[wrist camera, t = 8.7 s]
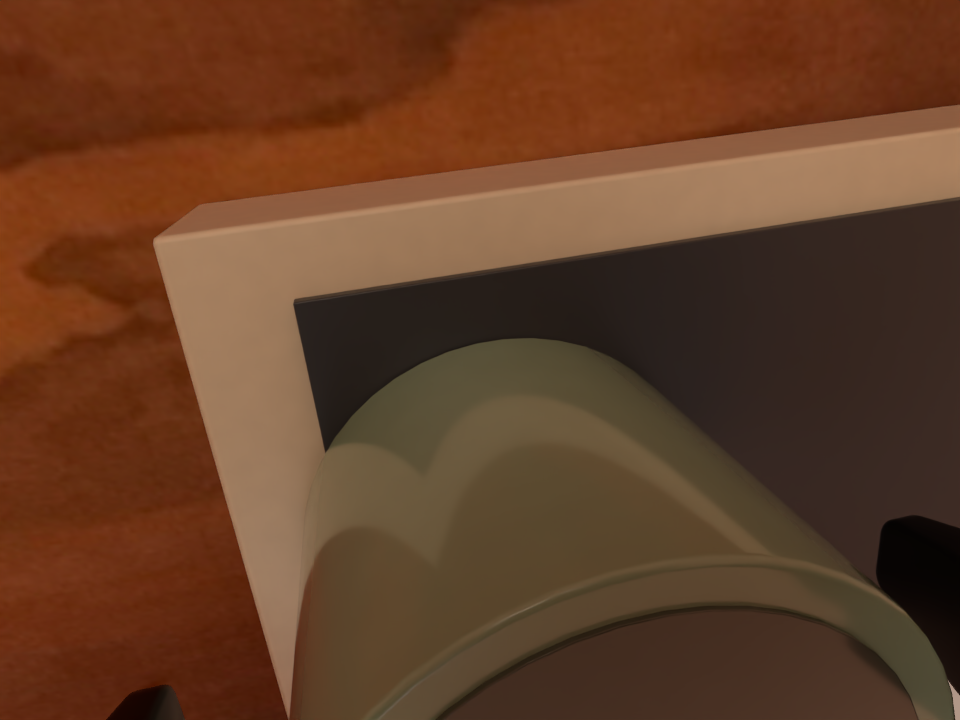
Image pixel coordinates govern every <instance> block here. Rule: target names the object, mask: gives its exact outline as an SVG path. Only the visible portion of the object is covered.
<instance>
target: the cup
mask: <svg viewBox="0 0 960 720" xmlns="http://www.w3.org/2000/svg"><path fill="white" fill-rule="evenodd" d="M289 720H955V715H954V706H953V697H952V692H951V689H950V686H949V683H948V679H947V676H946V673H945V670H944V667H943V664H942V662H941V660H940V658H939V656H938V655H937V653H936V651H935V649H934V648H933V646H932V644H931V642H930V641H929V639H928V637H927V635H926V634H925V632H924V631H923V630H922V629H921V628H920V627H919V625H918V624H917V623H916V622H915V621H914V620H913V619H912V618H911V616H910V615H909V614H908V613H907V612H906V611H905V610H904V609H903V608H902V607H901V606H900V605H899V604H898V603H897V602H895V601H894V600H893V599H892V598H891V597H890V596H889V595H888V594H886V593H885V592H884V591H883V590H882V589H881V588H880V587H879V586H877V585H876V584H875V583H874V582H873V581H872V580H871V579H870V578H868V577H867V576H866V575H865V574H864V573H863V572H862V571H861V570H859V569H858V568H857V567H856V566H855V565H854V564H853V563H852V562H850V561H849V560H848V559H847V558H846V557H845V556H844V555H843V554H841V553H840V552H839V551H838V550H837V549H836V548H835V547H834V546H832V545H831V544H830V543H829V542H828V541H827V540H826V539H824V538H823V537H822V536H821V535H820V534H819V533H818V532H817V531H815V530H814V529H813V528H812V527H811V526H810V525H809V524H808V523H806V522H805V521H804V520H803V519H802V518H801V517H800V516H799V515H797V514H796V513H795V512H794V511H793V510H792V509H791V508H790V507H788V506H787V505H786V504H785V503H784V502H783V501H782V500H781V499H779V498H778V497H777V496H776V495H775V494H774V493H773V492H772V491H770V490H769V489H768V488H767V487H766V486H765V485H764V484H763V483H761V482H760V481H759V480H758V479H757V478H756V477H755V476H753V475H752V474H751V473H750V472H749V471H748V470H747V469H746V468H744V467H743V466H742V465H741V464H740V463H739V462H738V461H737V460H735V459H734V458H733V457H732V456H731V455H730V454H729V453H728V452H726V451H725V450H724V449H723V448H722V447H721V446H720V445H719V444H717V443H716V442H715V441H714V440H713V439H712V438H711V437H710V436H708V435H707V434H706V433H705V432H704V431H703V430H702V429H701V428H699V427H698V426H697V425H696V424H695V423H694V422H693V421H692V420H690V419H689V418H688V417H687V416H686V415H685V414H684V413H682V412H681V411H680V410H679V409H678V408H677V407H676V406H675V405H673V404H672V403H671V402H670V401H669V400H668V399H667V398H666V397H664V396H663V395H662V394H661V393H660V392H659V391H658V390H657V389H655V388H654V387H653V386H652V385H651V384H650V383H649V382H647V381H646V380H645V379H644V378H642V377H641V376H640V375H639V374H637V373H636V372H635V371H633V370H632V369H631V368H629V367H628V366H626V365H624V364H622V363H621V362H619V361H617V360H615V359H614V358H612V357H610V356H608V355H605V354H603V353H600V352H598V351H595V350H593V349H590V348H587V347H585V346H580V345H576V344H572V343H567V342H563V341H558V340H547V339H537V338H520V339H501V340H495V341H489V342H483V343H477V344H473V345H470V346H466V347H463V348H459V349H456V350H453V351H449V352H446V353H444V354H442V355H439V356H437V357H435V358H432V359H430V360H428V361H425V362H423V363H421V364H419V365H417V366H416V367H414V368H412V369H410V370H409V371H407V372H405V373H404V374H402V375H400V376H399V377H397V378H395V379H394V380H392V381H391V382H390V383H389V384H387V385H386V386H385V387H383V388H382V389H381V390H379V391H378V392H377V393H375V394H374V395H373V396H372V397H371V398H370V399H369V400H368V401H367V402H366V403H365V404H364V405H363V406H361V407H360V408H359V409H358V410H357V411H356V412H355V413H354V414H353V415H352V416H351V418H350V419H349V420H348V422H347V423H346V424H345V425H344V427H343V428H342V429H341V430H340V432H339V433H338V434H337V436H336V437H335V438H334V440H333V442H332V443H331V445H330V447H329V448H328V450H327V452H326V454H325V455H324V457H323V459H322V460H321V462H320V465H319V467H318V470H317V472H316V475H315V477H314V480H313V482H312V485H311V488H310V492H309V496H308V500H307V504H306V508H305V517H304V528H303V541H302V554H301V568H300V581H299V595H298V608H297V622H296V635H295V649H294V662H293V676H292V689H291V702H290V716H289Z"/></svg>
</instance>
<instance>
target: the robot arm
mask: <svg viewBox="0 0 960 720" xmlns="http://www.w3.org/2000/svg"><path fill="white" fill-rule="evenodd" d="M876 577H877V581H878V584H879V586H880V588H881V589H882V590H883V591H884V592H885V593H886V594H888V595H889V596H890V597H891V598H892V599H893V600H894V601H895V602H897V603H898V604H899V605H900V606H901V607H902V608H903V609H904V610H905V611H906V612H907V613H908V614H909V615H910V616H911V618H912V619H913V620H914V621H915V622H916V623H917V624H918V625H919V627H920V628H921V629H922V630H923V631H924V632H925V634H926V635H927V637H928V639H929V641H930V642H931V644H932V646H933V648H934V649H935V651H936V653H937V655H938V656H939V658H940V660H941V662H942V664H943V667H944V670H945V673H946V676H947V679H948V681H949V682H950V684H951V685H952V686H953V687H954V689H955V690H956V691H957V693H959V695H960V528H958V527H955V526H951V525H948V524H945V523H942V522H939V521H935V520H932V519H929V518H926V517H923V516H919V515H909V516H905V517H900V518H896V519H892V520H889V521H887V522H885V524H884V525H883V527H882V529H881V533H880V541H879V548H878V556H877V564H876ZM106 720H185V718H184V715H183V713H182V710H181V707H180V704H179V701H178V699H177V696H176V693H175V691H174V690H173V688H172V687H171V686H169V685H159V686H155V687H151V688H146V689H142V690H137V691H135V692H132V693H131V694H129V695H128V696H127V697H126V698H125V699H124V700H123V701H122V703H121V704H120V705H119V706H118V707H117V708H116V709H115V710H114V712H113V713H112V714H111V715H110V716H109V717H108V718H107V719H106Z"/></svg>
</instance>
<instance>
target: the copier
mask: <svg viewBox="0 0 960 720" xmlns="http://www.w3.org/2000/svg"><path fill="white" fill-rule="evenodd" d="M153 246H154V249H155V253H156V256H157V260H158V263H159V267H160V270H161V274H162V277H163V281H164V285H165V288H166V292H167V295H168V299H169V302H170V306H171V309H172V313H173V316H174V320H175V323H176V327H177V330H178V334H179V337H180V341H181V344H182V348H183V351H184V355H185V358H186V362H187V365H188V369H189V372H190V376H191V379H192V383H193V386H194V390H195V393H196V397H197V400H198V404H199V408H200V411H201V415H202V418H203V422H204V425H205V429H206V432H207V436H208V439H209V443H210V446H211V450H212V453H213V457H214V460H215V464H216V467H217V471H218V474H219V478H220V481H221V485H222V488H223V492H224V495H225V499H226V502H227V506H228V509H229V513H230V516H231V520H232V523H233V527H234V530H235V534H236V538H237V541H238V545H239V548H240V552H241V555H242V559H243V562H244V566H245V569H246V573H247V576H248V580H249V583H250V587H251V590H252V594H253V597H254V601H255V604H256V608H257V611H258V615H259V618H260V622H261V625H262V629H263V632H264V636H265V639H266V643H267V646H268V650H269V653H270V657H271V661H272V664H273V668H274V671H275V675H276V678H277V682H278V685H279V689H280V692H281V696H282V699H283V703H284V706H285V710H286V713H287V717H288V720H289V716H290V702H291V689H292V676H293V662H294V649H295V635H296V622H297V608H298V595H299V581H300V568H301V554H302V541H303V528H304V517H305V508H306V504H307V500H308V496H309V492H310V488H311V485H312V482H313V480H314V477H315V475H316V472H317V470H318V467H319V465H320V462H321V460H322V459H323V457H324V455H325V454H326V452H327V450H328V448H329V447H330V445H331V443H332V442H333V440H334V438H335V437H336V436H337V434H338V433H339V432H340V430H341V429H342V428H343V427H344V425H345V424H346V423H347V422H348V420H349V419H350V418H351V416H352V415H353V414H354V413H355V412H356V411H357V410H358V409H359V408H360V407H361V406H363V405H364V404H365V403H366V402H367V401H368V400H369V399H370V398H371V397H372V396H373V395H374V394H375V393H377V392H378V391H379V390H381V389H382V388H383V387H385V386H386V385H387V384H389V383H390V382H391V381H392V380H394V379H395V378H397V377H399V376H400V375H402V374H404V373H405V372H407V371H409V370H410V369H412V368H414V367H416V366H417V365H419V364H421V363H423V362H425V361H428V360H430V359H432V358H435V357H437V356H439V355H442V354H444V353H446V352H449V351H453V350H456V349H459V348H463V347H466V346H470V345H473V344H477V343H483V342H489V341H495V340H501V339H520V338H537V339H547V340H558V341H563V342H567V343H572V344H576V345H580V346H585V347H587V348H590V349H593V350H595V351H598V352H600V353H603V354H605V355H608V356H610V357H612V358H614V359H615V360H617V361H619V362H621V363H622V364H624V365H626V366H628V367H629V368H631V369H632V370H633V371H635V372H636V373H637V374H639V375H640V376H641V377H642V378H644V379H645V380H646V381H647V382H649V383H650V384H651V385H652V386H653V387H654V388H655V389H657V390H658V391H659V392H660V393H661V394H662V395H663V396H664V397H666V398H667V399H668V400H669V401H670V402H671V403H672V404H673V405H675V406H676V407H677V408H678V409H679V410H680V411H681V412H682V413H684V414H685V415H686V416H687V417H688V418H689V419H690V420H692V421H693V422H694V423H695V424H696V425H697V426H698V427H699V428H701V429H702V430H703V431H704V432H705V433H706V434H707V435H708V436H710V437H711V438H712V439H713V440H714V441H715V442H716V443H717V444H719V445H720V446H721V447H722V448H723V449H724V450H725V451H726V452H728V453H729V454H730V455H731V456H732V457H733V458H734V459H735V460H737V461H738V462H739V463H740V464H741V465H742V466H743V467H744V468H746V469H747V470H748V471H749V472H750V473H751V474H752V475H753V476H755V477H756V478H757V479H758V480H759V481H760V482H761V483H763V484H764V485H765V486H766V487H767V488H768V489H769V490H770V491H772V492H773V493H774V494H775V495H776V496H777V497H778V498H779V499H781V500H782V501H783V502H784V503H785V504H786V505H787V506H788V507H790V508H791V509H792V510H793V511H794V512H795V513H796V514H797V515H799V516H800V517H801V518H802V519H803V520H804V521H805V522H806V523H808V524H809V525H810V526H811V527H812V528H813V529H814V530H815V531H817V532H818V533H819V534H820V535H821V536H822V537H823V538H824V539H826V540H827V541H828V542H829V543H830V544H831V545H832V546H834V547H835V548H836V549H837V550H838V551H839V552H840V553H841V554H843V555H844V556H845V557H846V558H847V559H848V560H849V561H850V562H852V563H853V564H854V565H855V566H856V567H857V568H858V569H859V570H861V571H862V572H863V573H864V574H865V575H866V576H867V577H868V578H870V579H871V580H872V581H873V582H874V583H875V584H876V585H877V586H879V584H878V581H877V577H876V564H877V556H878V548H879V541H880V533H881V529H882V527H883V525H884V524H885V522H887V521H889V520H892V519H896V518H900V517H905V516H909V515H919V516H923V517H926V518H929V519H932V520H935V521H939V522H942V523H945V524H948V525H951V526H955V527H958V528H960V105H953V106H946V107H938V108H930V109H923V110H915V111H908V112H900V113H892V114H885V115H877V116H870V117H862V118H854V119H847V120H839V121H831V122H824V123H816V124H809V125H801V126H793V127H786V128H778V129H771V130H763V131H755V132H748V133H740V134H733V135H725V136H717V137H710V138H702V139H695V140H687V141H679V142H672V143H664V144H657V145H649V146H641V147H634V148H626V149H619V150H611V151H603V152H596V153H588V154H581V155H573V156H565V157H558V158H550V159H542V160H535V161H527V162H520V163H512V164H504V165H497V166H489V167H482V168H474V169H466V170H459V171H451V172H444V173H436V174H428V175H421V176H413V177H406V178H398V179H390V180H383V181H375V182H368V183H360V184H352V185H345V186H337V187H330V188H322V189H314V190H307V191H299V192H292V193H284V194H276V195H269V196H261V197H253V198H246V199H238V200H231V201H223V202H215V203H208V204H201V205H199V206H197V207H196V208H194V209H193V210H192V211H190V212H189V213H188V214H186V215H185V216H184V217H182V218H181V219H180V220H178V221H177V222H176V223H174V224H173V225H172V226H170V227H169V228H168V229H166V230H165V231H163V232H162V233H161V234H159V235H158V236H157V237H155V238H154V241H153ZM879 587H880V586H879Z"/></svg>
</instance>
